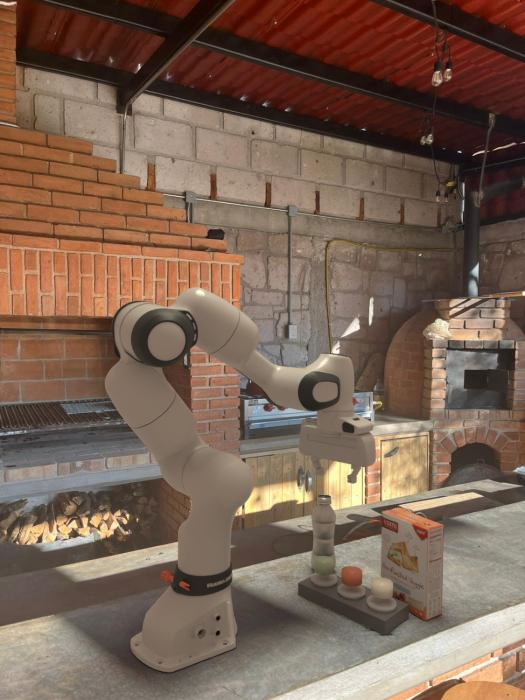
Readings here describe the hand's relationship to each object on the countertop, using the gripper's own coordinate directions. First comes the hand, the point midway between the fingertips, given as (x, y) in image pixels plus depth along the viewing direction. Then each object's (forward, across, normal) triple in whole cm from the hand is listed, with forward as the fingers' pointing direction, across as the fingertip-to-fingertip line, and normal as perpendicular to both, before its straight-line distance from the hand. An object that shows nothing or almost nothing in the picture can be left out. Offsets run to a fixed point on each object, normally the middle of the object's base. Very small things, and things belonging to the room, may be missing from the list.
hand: (335, 478), depth 127 cm
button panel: (+29, +5, -1) cm, 29 cm away
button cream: (+23, +13, -1) cm, 27 cm away
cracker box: (+29, +15, +9) cm, 34 cm away
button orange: (+23, +5, -1) cm, 24 cm away
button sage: (+23, -3, -1) cm, 23 cm away
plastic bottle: (+29, -11, +9) cm, 32 cm away
